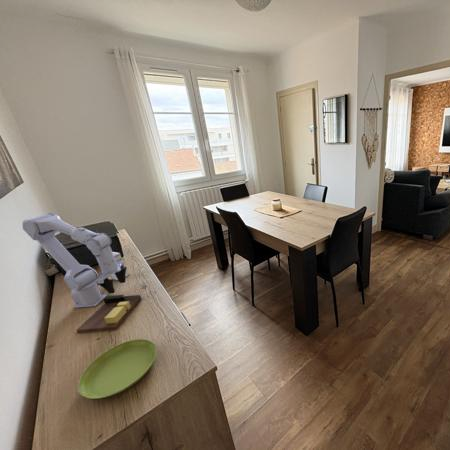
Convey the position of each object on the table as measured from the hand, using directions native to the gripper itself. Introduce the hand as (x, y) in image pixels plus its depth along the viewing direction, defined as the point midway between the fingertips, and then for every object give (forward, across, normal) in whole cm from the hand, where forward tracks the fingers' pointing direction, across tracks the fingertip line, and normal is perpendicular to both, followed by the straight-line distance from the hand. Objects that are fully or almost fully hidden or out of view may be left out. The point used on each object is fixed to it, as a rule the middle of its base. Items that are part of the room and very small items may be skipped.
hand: (117, 287), depth 108 cm
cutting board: (+8, -8, 0) cm, 12 cm away
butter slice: (+7, -6, -5) cm, 11 cm away
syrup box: (+9, +23, +16) cm, 29 cm away
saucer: (+9, -37, -22) cm, 44 cm away
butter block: (+7, -12, -5) cm, 15 cm away
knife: (+7, -1, -1) cm, 7 cm away
